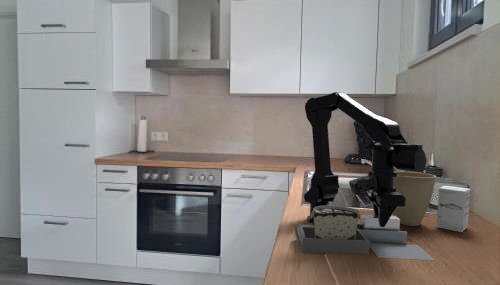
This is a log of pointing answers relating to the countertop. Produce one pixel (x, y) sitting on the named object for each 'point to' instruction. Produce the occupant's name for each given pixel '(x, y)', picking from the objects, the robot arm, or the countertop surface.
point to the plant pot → (413, 196)
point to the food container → (335, 222)
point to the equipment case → (331, 242)
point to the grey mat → (400, 251)
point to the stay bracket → (384, 236)
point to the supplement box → (453, 208)
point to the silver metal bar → (373, 223)
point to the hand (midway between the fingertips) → (380, 224)
